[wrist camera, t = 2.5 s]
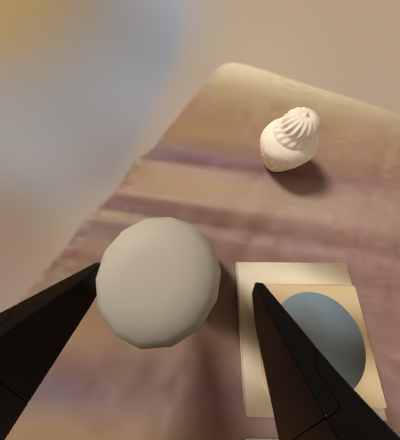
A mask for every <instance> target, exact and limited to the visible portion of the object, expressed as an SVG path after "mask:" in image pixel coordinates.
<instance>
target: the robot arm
mask: <svg viewBox="0 0 400 440" xmlns="http://www.w3.org/2000/svg"><path fill="white" fill-rule="evenodd" d="M100 264H101V263H94V264H93V265H91V266H89V267H87V268H85V269H83V270H81V271H79V272H77V273H75V274H74V275H72V276H70V277H68V278H66V279H64V280H62V281H60V282H58V283H56V284H55V285H53V286H51V287H49V288H47V289H45V290H43V291H41V292H39V293H37V294H36V295H34V296H32V297H30V298H28V299H26V300H24V301H22V302H20V303H18V304H17V305H15V306H13V307H11V308H9V309H7V310H5V311H3V312H1V313H0V440H5V438H6V437H7V435H8V434H9V432H10V430H11V429H12V427H13V426H14V424H15V423H16V421H17V420H18V418H19V416H20V415H21V413H22V412H23V410H24V409H25V407H26V406H27V404H28V402H29V401H30V399H31V398H32V396H33V394H34V393H35V391H36V390H37V388H38V387H39V385H40V384H41V382H42V381H43V379H44V377H45V376H46V374H47V373H48V371H49V370H50V368H51V367H52V365H53V363H54V362H55V360H56V359H57V357H58V356H59V354H60V353H61V351H62V349H63V348H64V346H65V345H66V343H67V342H68V340H69V339H70V337H71V335H72V334H73V332H74V331H75V329H76V328H77V326H78V325H79V323H80V321H81V320H82V318H83V317H84V315H85V314H86V312H87V311H88V309H89V308H90V306H91V304H92V303H93V301H94V299H95V297H96V296H97V291H96V277H97V273H98V270H99V267H100ZM252 301H253V311H254V320H255V327H256V332H257V337H258V342H259V346H260V351H261V356H262V361H263V366H264V370H265V375H266V380H267V385H268V390H269V394H270V399H271V404H272V409H273V413H274V418H275V423H276V428H277V433H278V437H279V440H400V437H398V436H397V435H396V434H395V432H394V431H393V430H392V429H391V428H390V427H389V426H388V425H387V424H386V423H385V422H384V421H383V420H382V419H381V418H380V417H379V416H378V415H377V414H376V412H375V411H374V410H373V409H372V408H371V407H370V406H369V405H368V404H367V403H366V402H365V401H364V400H363V399H362V398H361V396H360V395H359V394H358V393H357V392H356V391H355V390H354V389H353V388H352V387H351V386H350V385H349V384H348V383H347V381H346V380H345V379H344V378H343V377H342V376H341V375H340V374H339V373H338V372H337V370H336V369H335V368H334V367H333V366H332V365H331V363H330V362H329V361H328V360H327V359H326V358H325V357H324V355H323V354H322V353H321V352H320V351H319V349H318V348H317V347H316V346H315V345H314V343H313V342H312V341H311V340H310V339H309V337H308V336H307V335H306V334H305V333H304V331H303V330H302V329H301V328H300V327H299V325H298V324H297V323H296V322H295V321H294V319H293V318H292V317H291V316H290V315H289V313H288V312H287V311H286V310H285V309H284V307H283V306H282V305H281V304H280V303H279V301H278V300H277V299H276V298H275V297H274V295H273V294H272V293H271V292H270V291H269V289H268V288H267V287H266V286H265V285H264V284H263V283H259V282H256V283H255V285H254V288H253V291H252Z"/></svg>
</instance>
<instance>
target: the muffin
mask: <svg viewBox="0 0 400 440" xmlns="http://www.w3.org/2000/svg"><path fill="white" fill-rule="evenodd" d="M319 127H320V118H319V116H318V114H317V113H315V111H314V110H310V108H307V109H306V108H305V107H302V108H300V107H297V108H295V109H292V110H290V111H289V112H288V113H287V114H285V115H284V117H282V118H279V119H276V120H274V121H273V122H271V123H270V124H269V125H268V126H267V127H266V128H265V129H264V131H263V133H262V135H261V139H260V147H261V148H260V151H261V156H262V160H263V163H264V165H265V167H267V169H269V170H271V171H273V172H274V171H275V172H281V171H285V170H289V169H293V168H296V167H297V166H300V165H302V164H304V163H306V162H307V161H309V160H310V159H311V158H312V157H313V156H314V155H315V153H316V151H317V149H318V144H319V139H318V133H317V132H318V131H319Z"/></svg>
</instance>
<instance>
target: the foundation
mask: <svg viewBox="0 0 400 440" xmlns="http://www.w3.org/2000/svg"><path fill="white" fill-rule="evenodd" d="M236 279H237V297H238V315H239V333H240V350H241V368H242V386H243V404H244V409H245V413H246V416H247V417H271V418H274V413H273V409H272V404H271V399H270V394H269V390H268V385H267V380H266V375H265V370H264V366H263V361H262V356H261V351H260V346H259V342H258V337H257V332H256V327H255V320H254V311H253V301H252V291H253V288H254V285H255V283H256V282H259V283H263V284H264V285H265V286H266V287H267V288H268V289H269V291H270V292H271V293H272V294H273V295H274V297H275V298H276V299H277V300H278V301H279V303H280V304H281V305H282V306H283V307H284V309H285V310H286V311H287V312H288V313H289V315H290V316H291V317H292V318H293V319H294V321H295V322H296V323H297V324H298V325H299V327H300V328H301V329H302V330H303V331H304V333H305V334H306V335H307V336H308V337H309V339H310V340H311V341H312V342H313V343H314V345H315V346H316V347H317V348H318V349H319V351H320V352H321V353H322V354H323V355H324V357H325V358H326V359H327V360H328V361H329V362H330V363H331V365H332V366H333V367H334V368H335V369H336V370H337V372H338V373H339V374H340V375H341V376H342V377H343V378H344V379H345V380H346V381H347V383H348V384H349V385H350V386H351V387H352V388H353V389H354V390H355V391H356V392H357V393H358V394H359V395H360V396H361V398H362V399H363V400H364V401H365V402H366V403H367V404H368V405H369V406H370V407H371V408H372V409H373V410H374V411H375V412H376V414H377V415H378V416H379V417H380V418H381V419H382V420H383V421H387V418H386V414H385V411H384V408H387V407H386V403H385V399H384V395H383V391H382V388H381V384H380V380H379V376H378V372H377V369H376V365H375V361H374V357H373V353H372V350H371V346H370V342H369V338H368V334H367V331H366V327H365V323H364V319H363V316H362V312H361V308H360V304H359V300H358V297H357V293H356V289H355V286H352V283H351V279H350V276H349V272H348V268H347V264H346V263H271V262H236Z"/></svg>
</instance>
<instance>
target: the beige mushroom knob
mask: <svg viewBox="0 0 400 440" xmlns="http://www.w3.org/2000/svg"><path fill="white" fill-rule="evenodd" d="M220 276H221V269H220V266H219V263H218V260H217V257H216V254H215V251H214V248H213V246H212V244H211V243H210V242H209V241H208V240H207V239H206V238H205V237H204V236H203V234H202V233H201V232H200V231H199V230H198V229H197V228H196V227H195V226H193V225H191V224H188V223H185V222H183V221H180V220H177V219H175V218H172V217H164V218H146V219H144V220H142V221H140V222H139V223H137V224H135V225H133V226H131V227H129V228H127V229H125V230H123V231H122V232H121V234H120V235H119V236H118V237H117V238H116V239H115V240H114V242H113V243H112V244H111V245H110V246H109V247H108V248H107V249H106V251H105V252H104V255H103V258H102V261H101V264H100V267H99V270H98V273H97V277H96V291H97V305H98V310H99V312H100V313H101V315H102V317H103V318H104V320H105V321H106V323H107V324H108V326H109V328H110V329H111V331H112V332H113V334H114V335H116V336H118V337H119V338H121V339H123V340H125V341H127V342H129V343H130V344H132V345H134V346H136V347H138V348H140V349H148V348H160V347H172V346H174V345H175V344H177V343H178V342H180V341H182V340H183V339H185V338H186V337H188V336H190V335H191V334H193V333H194V332H196V331H198V330H199V329H200V328H201V326H202V325H203V323H204V321H205V320H206V318H207V316H208V315H209V313H210V311H211V309H212V308H213V306H214V304H215V303H216V301H217V299H218V291H219V284H220Z"/></svg>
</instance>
